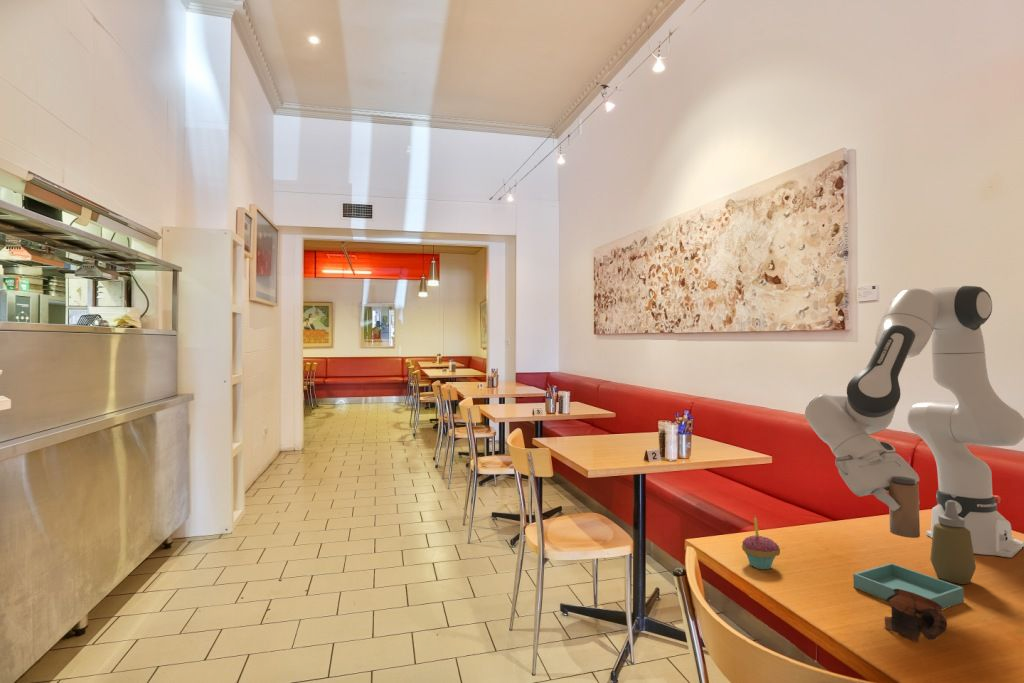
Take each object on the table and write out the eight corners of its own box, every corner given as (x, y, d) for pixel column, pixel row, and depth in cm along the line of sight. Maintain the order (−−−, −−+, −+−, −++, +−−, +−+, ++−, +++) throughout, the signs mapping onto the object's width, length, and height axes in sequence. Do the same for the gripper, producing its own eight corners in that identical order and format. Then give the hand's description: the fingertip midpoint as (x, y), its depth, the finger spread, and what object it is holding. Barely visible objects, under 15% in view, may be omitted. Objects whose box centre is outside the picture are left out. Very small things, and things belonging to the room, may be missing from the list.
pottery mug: (868, 623, 100) (877, 581, 102) (913, 645, 99) (922, 603, 101) (919, 640, 88) (928, 593, 91) (971, 665, 88) (979, 617, 90)
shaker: (898, 528, 114) (897, 474, 114) (925, 535, 109) (923, 480, 110) (884, 531, 112) (883, 477, 112) (911, 539, 107) (909, 482, 108)
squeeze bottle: (985, 588, 113) (983, 507, 113) (944, 585, 114) (941, 505, 115) (961, 573, 121) (959, 497, 121) (922, 570, 122) (920, 495, 123)
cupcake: (734, 560, 129) (733, 513, 129) (763, 557, 131) (762, 511, 131) (757, 574, 121) (756, 524, 121) (788, 571, 122) (787, 521, 123)
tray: (891, 575, 119) (891, 563, 120) (963, 602, 107) (963, 587, 107) (853, 587, 114) (853, 573, 114) (925, 616, 101) (924, 601, 101)
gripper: (840, 450, 113) (889, 505, 104) (895, 443, 122) (945, 494, 112) (821, 466, 117) (866, 520, 108) (876, 458, 125) (922, 509, 116)
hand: (907, 507), depth 110 cm, fingers closed on shaker, 5 cm apart
